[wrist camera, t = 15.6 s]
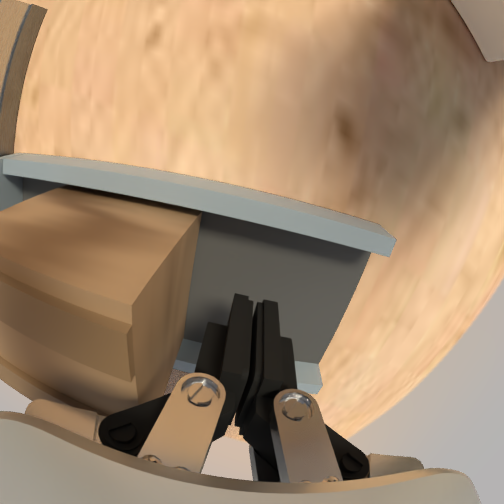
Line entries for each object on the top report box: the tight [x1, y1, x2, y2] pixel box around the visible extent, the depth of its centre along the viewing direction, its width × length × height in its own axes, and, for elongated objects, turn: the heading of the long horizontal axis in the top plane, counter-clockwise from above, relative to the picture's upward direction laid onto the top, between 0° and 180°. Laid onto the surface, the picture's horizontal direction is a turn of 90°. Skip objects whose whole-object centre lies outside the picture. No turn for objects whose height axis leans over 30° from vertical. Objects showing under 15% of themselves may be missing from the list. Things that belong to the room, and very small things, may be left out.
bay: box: [0, 153, 397, 394], centre depth 12 cm, size 20×9×3 cm, turn 77°
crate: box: [0, 184, 202, 416], centre depth 9 cm, size 7×7×7 cm
